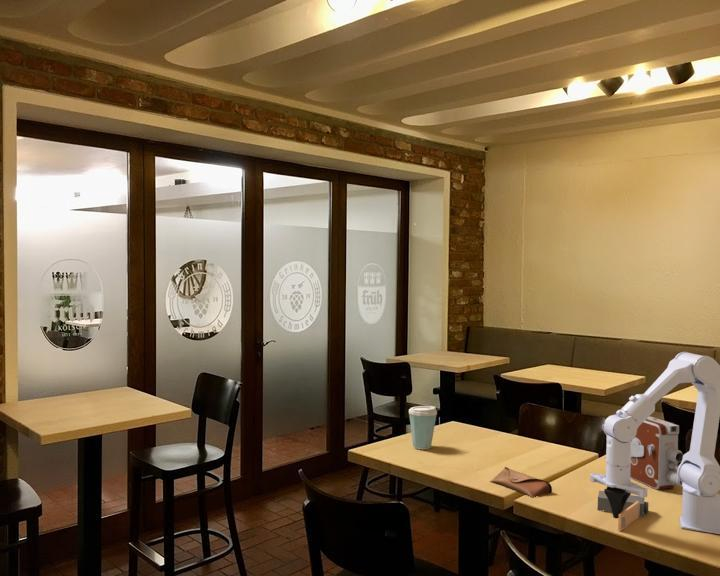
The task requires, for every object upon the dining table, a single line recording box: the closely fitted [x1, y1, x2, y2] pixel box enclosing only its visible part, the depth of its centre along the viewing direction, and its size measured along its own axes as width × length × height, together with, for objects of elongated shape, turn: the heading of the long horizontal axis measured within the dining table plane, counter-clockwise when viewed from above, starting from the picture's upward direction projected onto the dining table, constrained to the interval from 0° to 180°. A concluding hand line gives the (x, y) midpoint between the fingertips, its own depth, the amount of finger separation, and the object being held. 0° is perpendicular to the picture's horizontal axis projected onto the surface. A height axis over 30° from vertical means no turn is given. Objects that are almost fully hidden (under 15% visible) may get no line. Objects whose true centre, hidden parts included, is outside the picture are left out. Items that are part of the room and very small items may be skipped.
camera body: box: [597, 490, 649, 518], centre depth 169 cm, size 12×6×4 cm, turn 65°
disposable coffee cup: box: [408, 405, 438, 450], centre depth 229 cm, size 11×11×15 cm
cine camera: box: [630, 415, 684, 490], centre depth 189 cm, size 9×19×20 cm, turn 15°
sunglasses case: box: [489, 466, 553, 499], centre depth 187 cm, size 18×7×7 cm
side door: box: [617, 501, 641, 532], centre depth 159 cm, size 14×1×4 cm, turn 137°
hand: (617, 517), depth 157 cm, fingers closed
